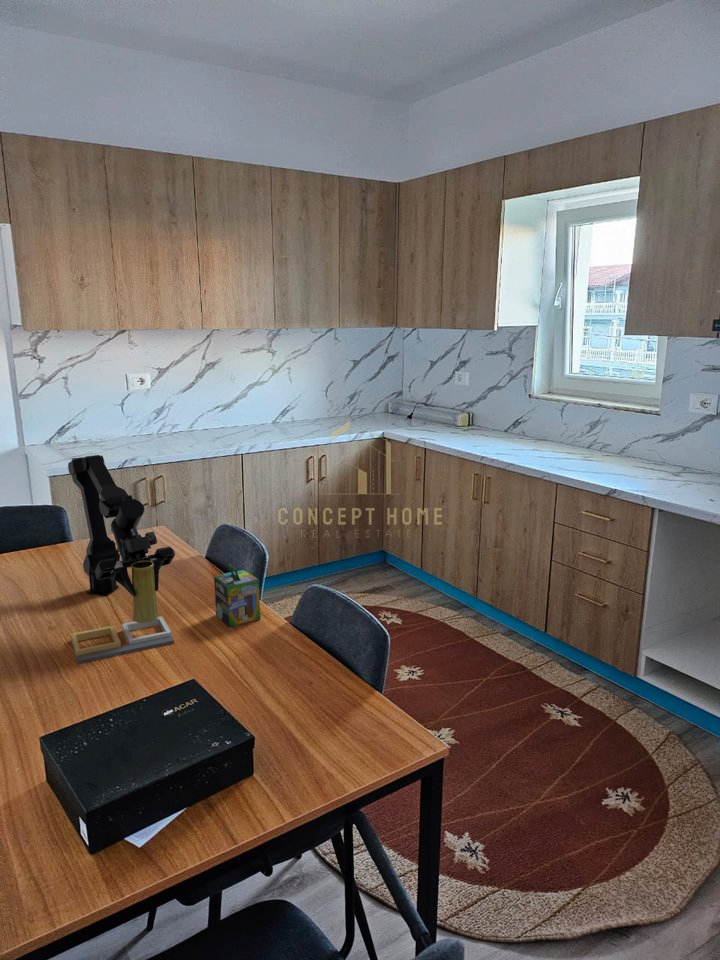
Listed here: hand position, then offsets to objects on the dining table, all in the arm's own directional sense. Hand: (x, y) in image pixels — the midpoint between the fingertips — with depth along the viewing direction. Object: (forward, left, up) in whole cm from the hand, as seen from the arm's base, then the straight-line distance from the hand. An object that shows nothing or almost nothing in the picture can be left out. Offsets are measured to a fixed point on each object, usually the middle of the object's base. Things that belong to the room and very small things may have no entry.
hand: (146, 593), depth 167 cm
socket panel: (-5, -4, -12) cm, 13 cm away
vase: (-1, +1, -7) cm, 7 cm away
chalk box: (+17, +16, -12) cm, 26 cm away
